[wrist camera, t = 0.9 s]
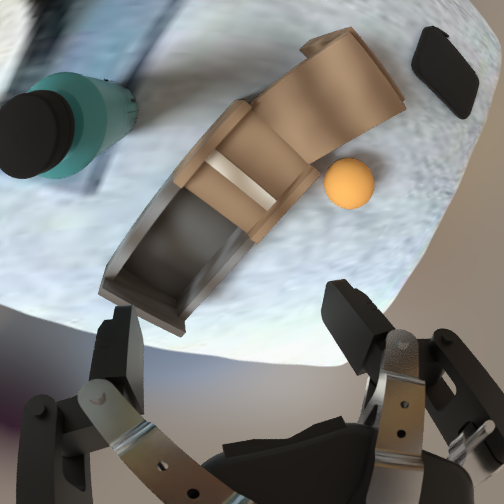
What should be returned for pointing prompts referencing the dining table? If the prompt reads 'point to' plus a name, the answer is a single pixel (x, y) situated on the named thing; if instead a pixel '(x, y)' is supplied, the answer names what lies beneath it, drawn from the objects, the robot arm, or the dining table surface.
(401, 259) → the dining table surface
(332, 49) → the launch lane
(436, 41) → the carrying case or bag
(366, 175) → the ball
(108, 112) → the beverage bottle
